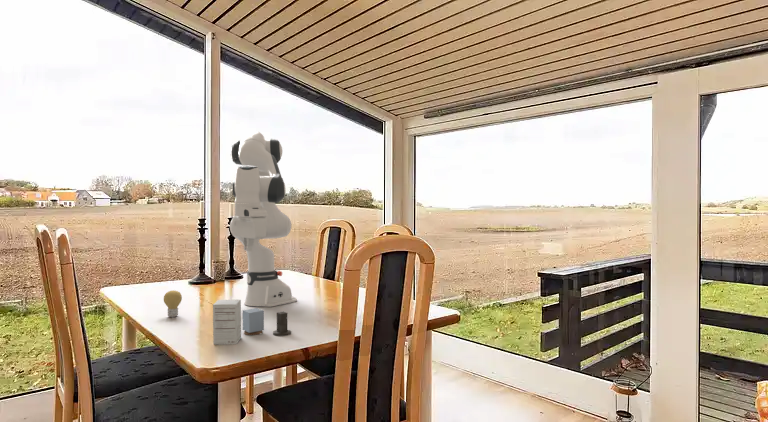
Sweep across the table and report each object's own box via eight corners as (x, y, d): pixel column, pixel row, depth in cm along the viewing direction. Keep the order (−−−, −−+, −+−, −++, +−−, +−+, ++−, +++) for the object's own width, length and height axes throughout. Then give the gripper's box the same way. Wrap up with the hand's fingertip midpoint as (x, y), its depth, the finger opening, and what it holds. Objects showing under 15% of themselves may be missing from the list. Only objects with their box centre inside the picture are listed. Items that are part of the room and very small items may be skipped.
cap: (256, 327, 169) (256, 308, 169) (263, 330, 165) (263, 310, 165) (242, 329, 166) (242, 310, 166) (249, 332, 162) (249, 312, 162)
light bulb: (175, 318, 185) (175, 292, 185) (160, 318, 187) (159, 291, 186) (185, 314, 192) (185, 289, 191) (170, 314, 193) (170, 288, 193)
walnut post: (257, 329, 170) (257, 309, 170) (265, 333, 165) (265, 312, 165) (241, 332, 166) (240, 311, 166) (248, 336, 161) (248, 315, 161)
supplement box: (218, 338, 159) (218, 299, 159) (241, 337, 160) (241, 299, 160) (212, 344, 152) (212, 304, 152) (236, 344, 153) (236, 303, 152)
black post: (285, 330, 169) (285, 309, 169) (294, 333, 165) (294, 313, 164) (269, 333, 165) (269, 312, 165) (278, 337, 161) (278, 315, 160)
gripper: (227, 211, 178) (227, 249, 178) (252, 212, 162) (252, 253, 163) (243, 210, 182) (243, 247, 182) (269, 211, 167) (269, 252, 167)
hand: (248, 250), depth 172 cm, fingers closed
